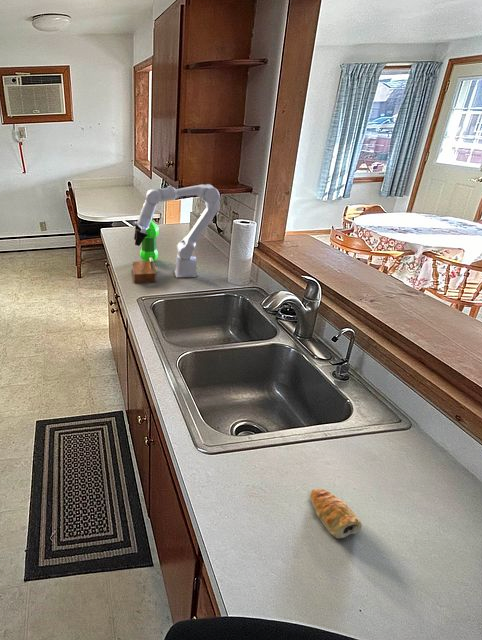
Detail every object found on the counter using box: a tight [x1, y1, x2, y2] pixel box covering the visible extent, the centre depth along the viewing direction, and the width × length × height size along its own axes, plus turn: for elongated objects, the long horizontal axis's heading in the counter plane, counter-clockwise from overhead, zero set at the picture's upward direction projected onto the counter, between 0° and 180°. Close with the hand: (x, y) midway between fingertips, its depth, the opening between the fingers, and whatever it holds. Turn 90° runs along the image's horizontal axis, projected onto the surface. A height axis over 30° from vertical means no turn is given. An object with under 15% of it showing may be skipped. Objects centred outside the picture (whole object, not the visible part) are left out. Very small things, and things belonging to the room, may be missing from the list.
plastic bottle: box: [139, 216, 160, 262], centre depth 203 cm, size 10×10×25 cm
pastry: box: [309, 488, 362, 540], centre depth 77 cm, size 9×7×4 cm
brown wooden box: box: [132, 268, 156, 284], centre depth 189 cm, size 10×16×4 cm, turn 0°
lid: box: [132, 257, 158, 276], centre depth 187 cm, size 10×16×5 cm
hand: (136, 242), depth 183 cm, fingers open, 7 cm apart
